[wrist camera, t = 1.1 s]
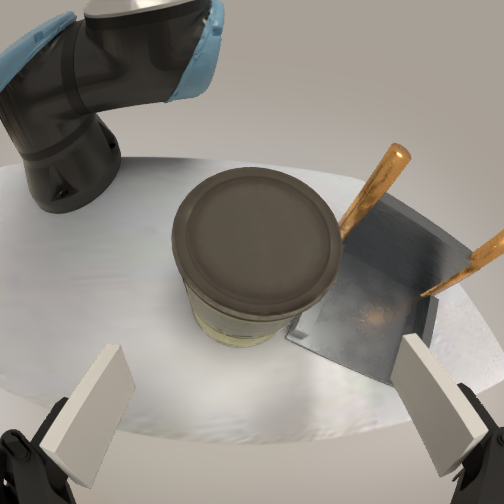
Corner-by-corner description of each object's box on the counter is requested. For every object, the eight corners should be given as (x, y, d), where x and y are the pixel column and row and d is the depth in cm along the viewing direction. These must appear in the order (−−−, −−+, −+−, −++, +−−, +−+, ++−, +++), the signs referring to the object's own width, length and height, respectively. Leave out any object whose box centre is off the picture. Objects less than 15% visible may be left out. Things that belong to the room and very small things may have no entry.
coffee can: (174, 277, 29) (148, 196, 16) (258, 241, 32) (286, 151, 19) (218, 366, 25) (220, 355, 13) (305, 319, 29) (373, 268, 16)
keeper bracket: (282, 337, 27) (356, 287, 13) (328, 233, 34) (392, 139, 19) (403, 390, 26) (513, 374, 12) (428, 290, 32) (513, 234, 18)
